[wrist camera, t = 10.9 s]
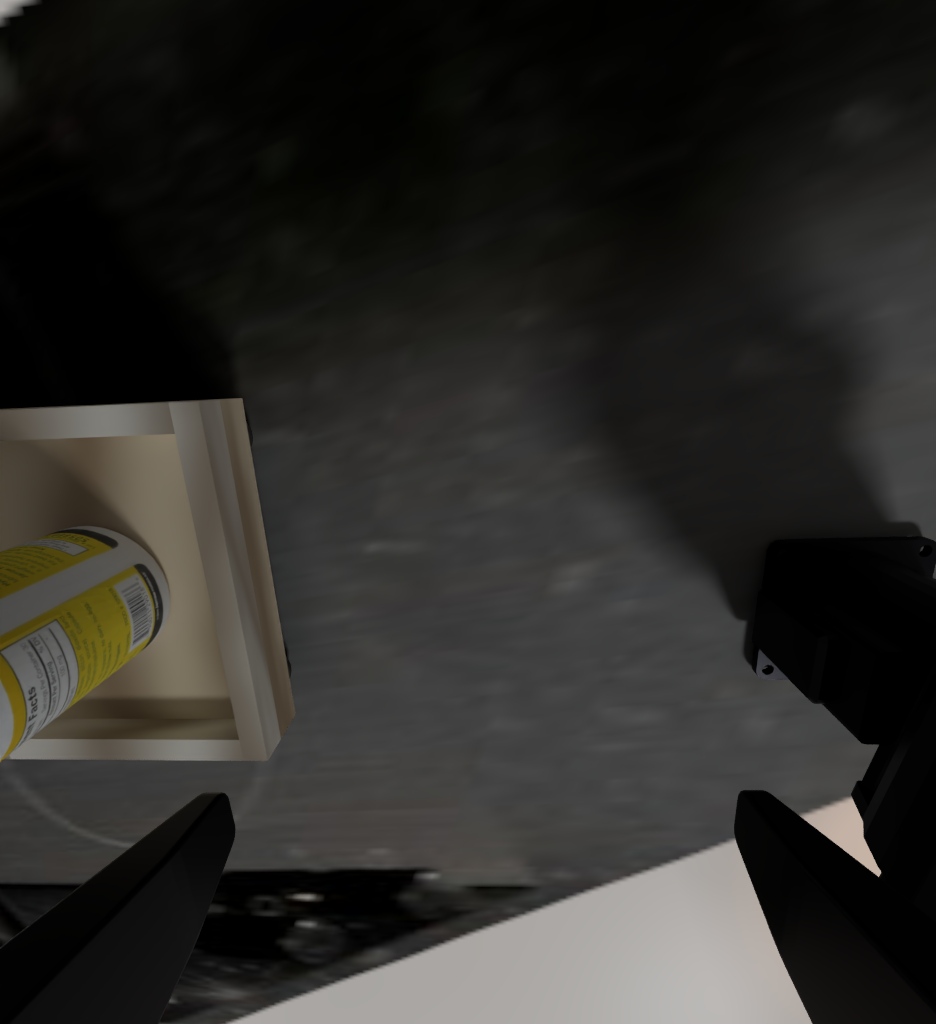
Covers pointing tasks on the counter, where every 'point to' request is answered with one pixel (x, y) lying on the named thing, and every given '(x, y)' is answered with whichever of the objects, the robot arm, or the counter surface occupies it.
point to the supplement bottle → (71, 621)
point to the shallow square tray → (184, 562)
